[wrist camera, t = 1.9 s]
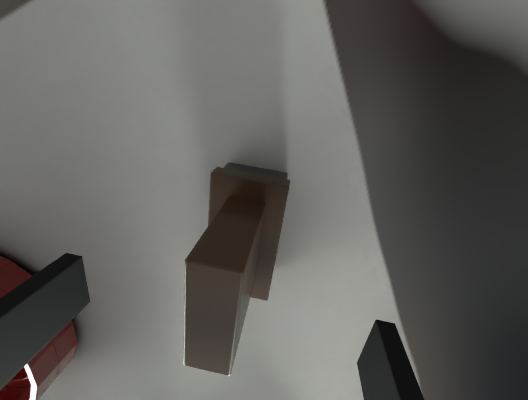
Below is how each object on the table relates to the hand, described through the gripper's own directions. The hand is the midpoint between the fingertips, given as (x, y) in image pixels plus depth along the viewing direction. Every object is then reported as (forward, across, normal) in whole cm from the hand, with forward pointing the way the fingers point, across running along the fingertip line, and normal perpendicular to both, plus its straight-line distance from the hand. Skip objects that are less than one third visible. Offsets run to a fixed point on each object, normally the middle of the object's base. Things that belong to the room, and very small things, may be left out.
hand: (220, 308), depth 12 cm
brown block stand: (+8, 0, 0) cm, 8 cm away
